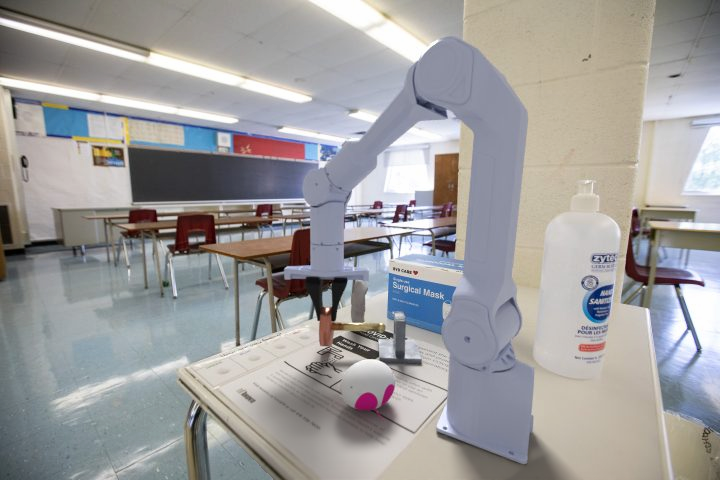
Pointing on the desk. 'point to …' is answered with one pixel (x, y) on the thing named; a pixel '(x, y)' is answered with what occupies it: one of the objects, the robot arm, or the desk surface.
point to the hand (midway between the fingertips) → (327, 319)
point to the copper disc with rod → (341, 327)
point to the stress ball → (367, 385)
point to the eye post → (399, 344)
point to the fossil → (358, 302)
